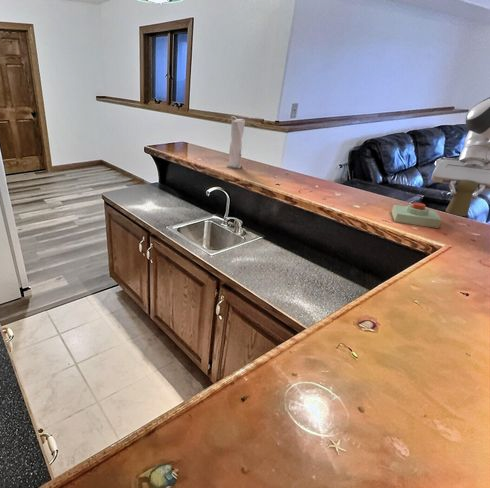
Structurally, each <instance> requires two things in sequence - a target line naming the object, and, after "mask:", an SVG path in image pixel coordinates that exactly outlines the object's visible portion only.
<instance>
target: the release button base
mask: <svg viewBox="0 0 490 488" xmlns="http://www.w3.org/2000/svg"><path fill="white" fill-rule="evenodd" d="M412 205H413V204H407V205H399V204H393V206H392V210H391V215H392V218H393V221H394V222H395V223H402V224H407V225H416V226H422V227H429V228H435V229H439V228H440V225H441V223H442V221H443V220H442V218H441V217H440V215H439V214H438V212H437V210H435V209H429V207H427V206H425V209H424V210H419V209H414V208H412Z"/></svg>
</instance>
